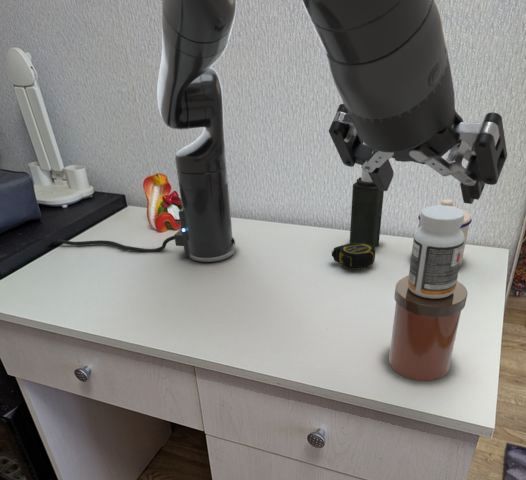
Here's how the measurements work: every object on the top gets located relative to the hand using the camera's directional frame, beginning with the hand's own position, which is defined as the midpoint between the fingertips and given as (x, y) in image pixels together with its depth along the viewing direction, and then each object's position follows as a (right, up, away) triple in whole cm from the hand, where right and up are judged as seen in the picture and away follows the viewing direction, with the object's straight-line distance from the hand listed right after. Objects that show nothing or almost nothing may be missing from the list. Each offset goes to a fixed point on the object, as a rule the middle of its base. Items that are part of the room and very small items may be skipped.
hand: (427, 188), depth 48 cm
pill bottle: (+5, -9, +13) cm, 16 cm away
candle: (+4, +5, +52) cm, 53 cm away
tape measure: (+1, 0, +46) cm, 46 cm away
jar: (+5, -18, +20) cm, 27 cm away
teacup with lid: (+16, 0, +44) cm, 47 cm away
